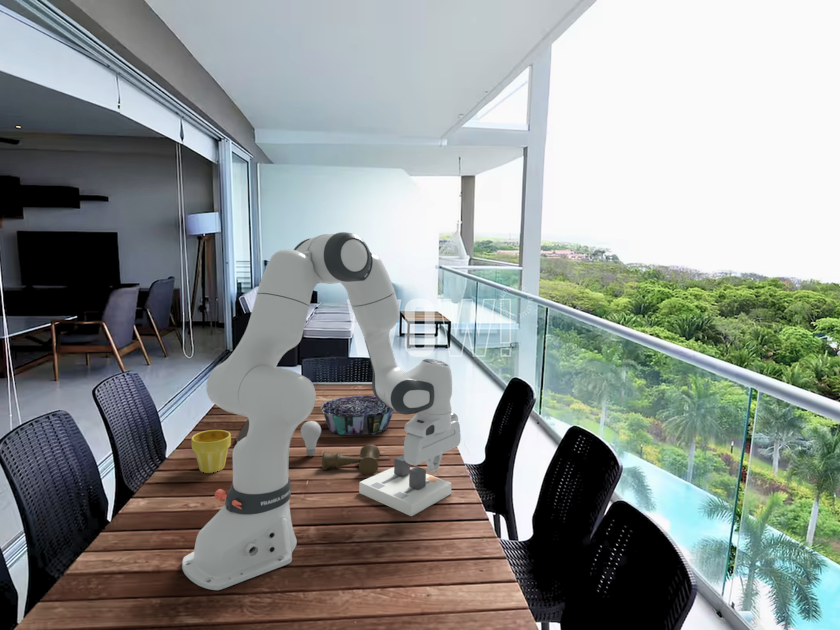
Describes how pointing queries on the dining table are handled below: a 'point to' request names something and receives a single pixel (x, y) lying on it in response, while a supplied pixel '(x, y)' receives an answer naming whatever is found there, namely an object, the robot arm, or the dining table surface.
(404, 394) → the robot arm
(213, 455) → the plant pot
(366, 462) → the kendama
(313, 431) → the lightbulb
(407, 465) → the block
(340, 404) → the decorative bowl
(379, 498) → the breaker panel
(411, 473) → the block
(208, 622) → the dining table surface
